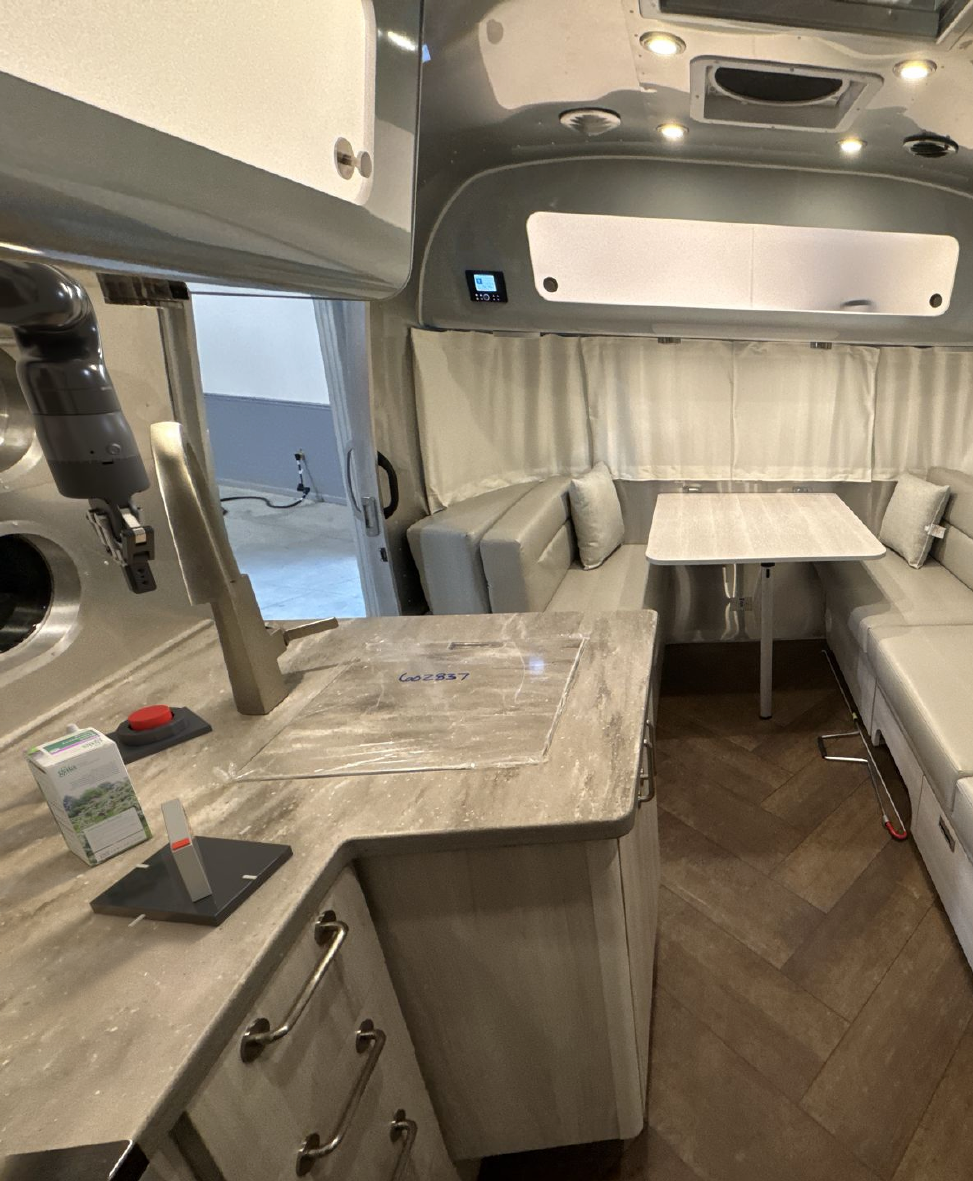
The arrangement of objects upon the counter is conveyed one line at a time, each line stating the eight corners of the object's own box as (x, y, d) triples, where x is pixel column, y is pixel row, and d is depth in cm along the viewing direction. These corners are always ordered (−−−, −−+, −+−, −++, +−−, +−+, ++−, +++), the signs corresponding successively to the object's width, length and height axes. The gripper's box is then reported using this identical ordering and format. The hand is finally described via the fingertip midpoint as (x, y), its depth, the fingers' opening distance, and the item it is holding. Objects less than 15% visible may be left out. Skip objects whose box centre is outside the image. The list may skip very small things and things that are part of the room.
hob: (70, 930, 65) (64, 918, 64) (199, 830, 78) (195, 820, 78) (200, 944, 64) (195, 933, 64) (308, 841, 78) (305, 831, 77)
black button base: (124, 765, 88) (117, 748, 87) (101, 743, 92) (93, 726, 91) (213, 731, 96) (207, 714, 95) (187, 712, 100) (181, 696, 99)
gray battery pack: (179, 851, 73) (159, 801, 70) (198, 844, 74) (178, 795, 72) (192, 902, 67) (171, 850, 64) (212, 893, 68) (191, 842, 65)
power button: (138, 735, 91) (134, 724, 90) (126, 724, 93) (122, 714, 92) (177, 720, 94) (174, 710, 94) (165, 711, 96) (161, 701, 96)
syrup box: (132, 820, 79) (90, 723, 74) (156, 837, 77) (114, 738, 71) (69, 850, 74) (18, 749, 69) (92, 869, 72) (42, 766, 67)
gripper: (26, 448, 72) (83, 588, 79) (66, 464, 66) (124, 614, 73) (115, 441, 78) (161, 571, 85) (159, 455, 72) (205, 594, 79)
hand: (144, 590), depth 79 cm, fingers closed
